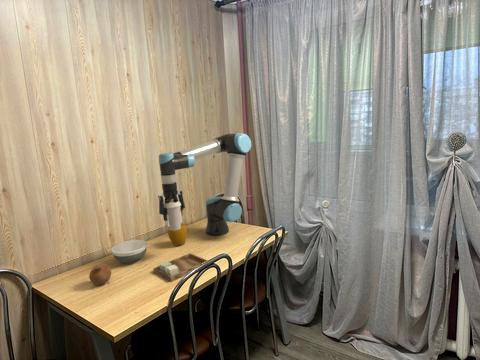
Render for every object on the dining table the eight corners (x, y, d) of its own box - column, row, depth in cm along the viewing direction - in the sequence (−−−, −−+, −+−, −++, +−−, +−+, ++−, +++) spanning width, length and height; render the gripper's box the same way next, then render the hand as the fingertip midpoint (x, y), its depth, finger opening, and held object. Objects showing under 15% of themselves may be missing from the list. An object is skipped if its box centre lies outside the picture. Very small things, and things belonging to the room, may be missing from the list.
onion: (101, 293, 143) (95, 279, 137) (88, 284, 147) (81, 271, 141) (118, 277, 150) (112, 264, 144) (104, 269, 154) (98, 256, 148)
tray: (190, 257, 168) (189, 253, 168) (209, 265, 157) (208, 260, 156) (153, 272, 153) (153, 268, 153) (171, 283, 142) (171, 278, 141)
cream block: (175, 272, 151) (174, 264, 150) (178, 275, 147) (178, 267, 147) (167, 275, 148) (166, 267, 148) (171, 278, 145) (170, 270, 144)
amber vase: (166, 248, 183) (164, 227, 181) (173, 241, 194) (171, 221, 192) (184, 248, 181) (182, 227, 179) (190, 241, 192) (188, 221, 190)
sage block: (166, 269, 155) (165, 261, 154) (172, 270, 153) (171, 263, 152) (160, 272, 152) (159, 264, 151) (166, 274, 149) (165, 266, 149)
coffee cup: (179, 231, 163) (176, 204, 161) (162, 231, 165) (159, 204, 163) (186, 225, 173) (183, 199, 170) (170, 225, 175) (167, 199, 172)
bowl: (107, 261, 170) (105, 247, 168) (138, 250, 183) (137, 237, 181) (122, 271, 157) (120, 256, 155) (155, 258, 170) (153, 244, 168)
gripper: (181, 178, 174) (185, 217, 178) (148, 185, 160) (153, 228, 164) (188, 179, 169) (193, 220, 173) (155, 186, 155) (161, 230, 159)
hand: (174, 223), depth 169 cm, fingers closed on coffee cup, 7 cm apart
